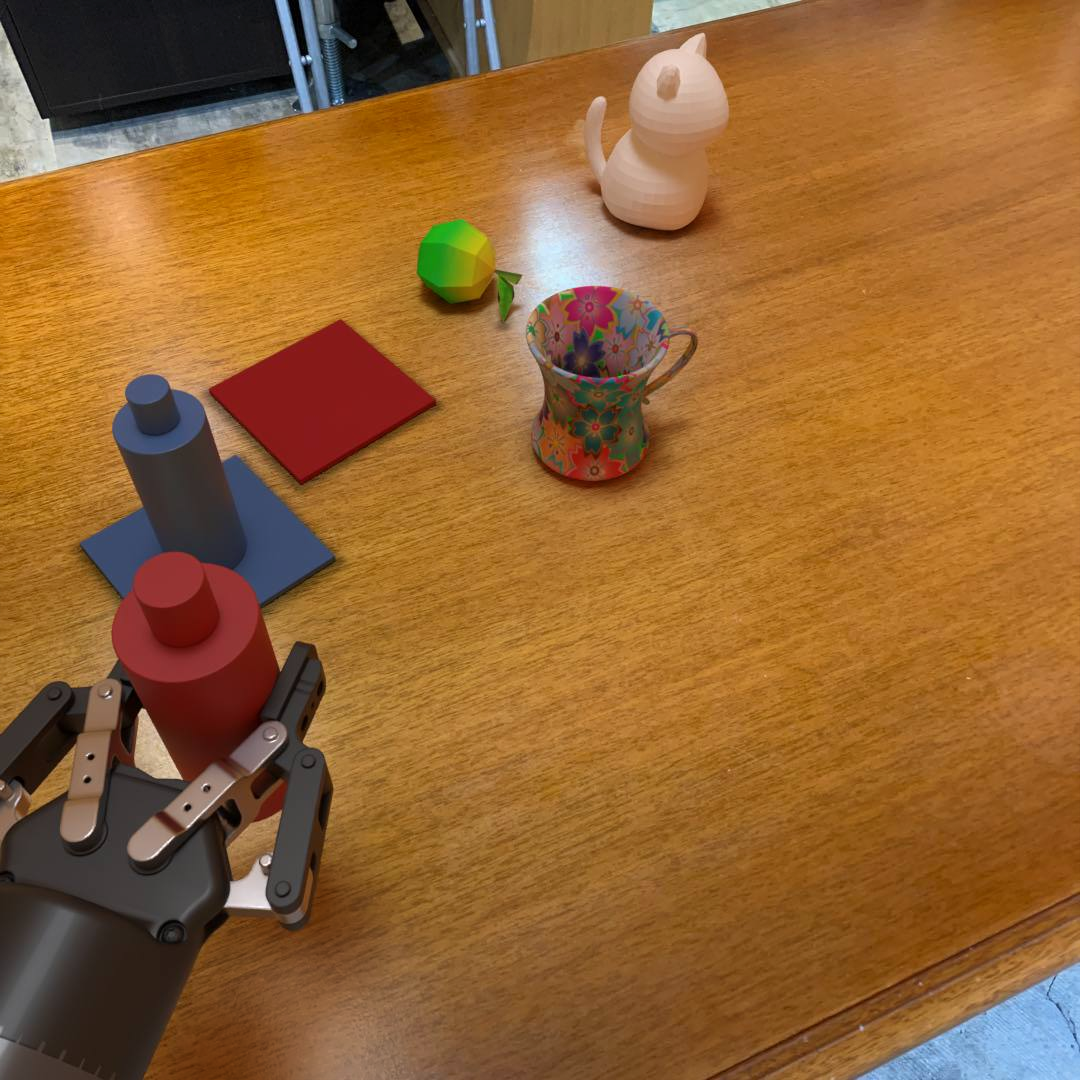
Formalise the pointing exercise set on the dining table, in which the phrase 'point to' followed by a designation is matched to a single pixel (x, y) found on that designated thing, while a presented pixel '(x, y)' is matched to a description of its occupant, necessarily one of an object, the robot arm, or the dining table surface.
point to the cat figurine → (662, 140)
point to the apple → (462, 265)
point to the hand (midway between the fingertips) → (241, 637)
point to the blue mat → (270, 528)
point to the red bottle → (197, 660)
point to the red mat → (321, 399)
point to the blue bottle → (178, 472)
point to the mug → (598, 378)
